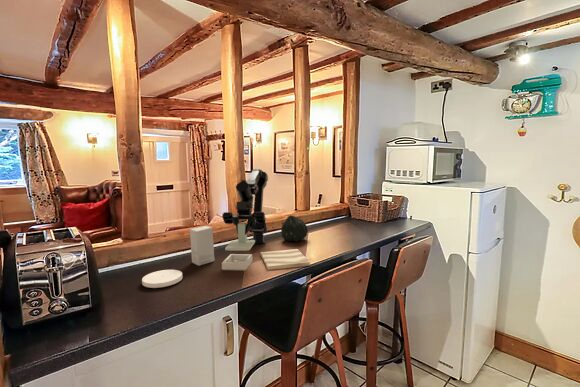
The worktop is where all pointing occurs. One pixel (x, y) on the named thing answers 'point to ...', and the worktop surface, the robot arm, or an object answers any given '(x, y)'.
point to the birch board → (284, 259)
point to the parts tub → (237, 262)
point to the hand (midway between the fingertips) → (241, 234)
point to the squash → (294, 229)
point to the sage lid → (241, 240)
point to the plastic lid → (162, 278)
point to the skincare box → (202, 245)
